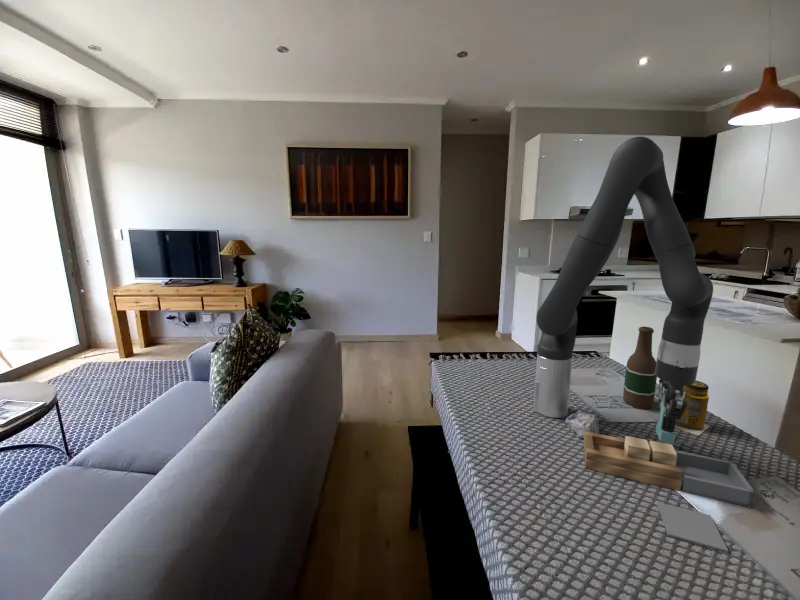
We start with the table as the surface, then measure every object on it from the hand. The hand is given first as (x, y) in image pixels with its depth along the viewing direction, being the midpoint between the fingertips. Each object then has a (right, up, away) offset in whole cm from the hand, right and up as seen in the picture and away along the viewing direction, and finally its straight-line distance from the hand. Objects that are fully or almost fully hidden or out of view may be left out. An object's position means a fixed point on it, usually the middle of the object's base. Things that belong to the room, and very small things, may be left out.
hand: (665, 427), depth 83 cm
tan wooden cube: (-11, -5, -6) cm, 14 cm away
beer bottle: (+9, -1, +23) cm, 25 cm away
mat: (-12, -10, -21) cm, 26 cm away
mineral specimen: (-16, -5, +8) cm, 19 cm away
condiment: (+14, -4, +11) cm, 18 cm away
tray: (0, -8, -11) cm, 13 cm away
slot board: (-13, -7, -5) cm, 15 cm away
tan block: (-7, -5, -8) cm, 12 cm away
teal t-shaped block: (0, -3, +1) cm, 3 cm away
